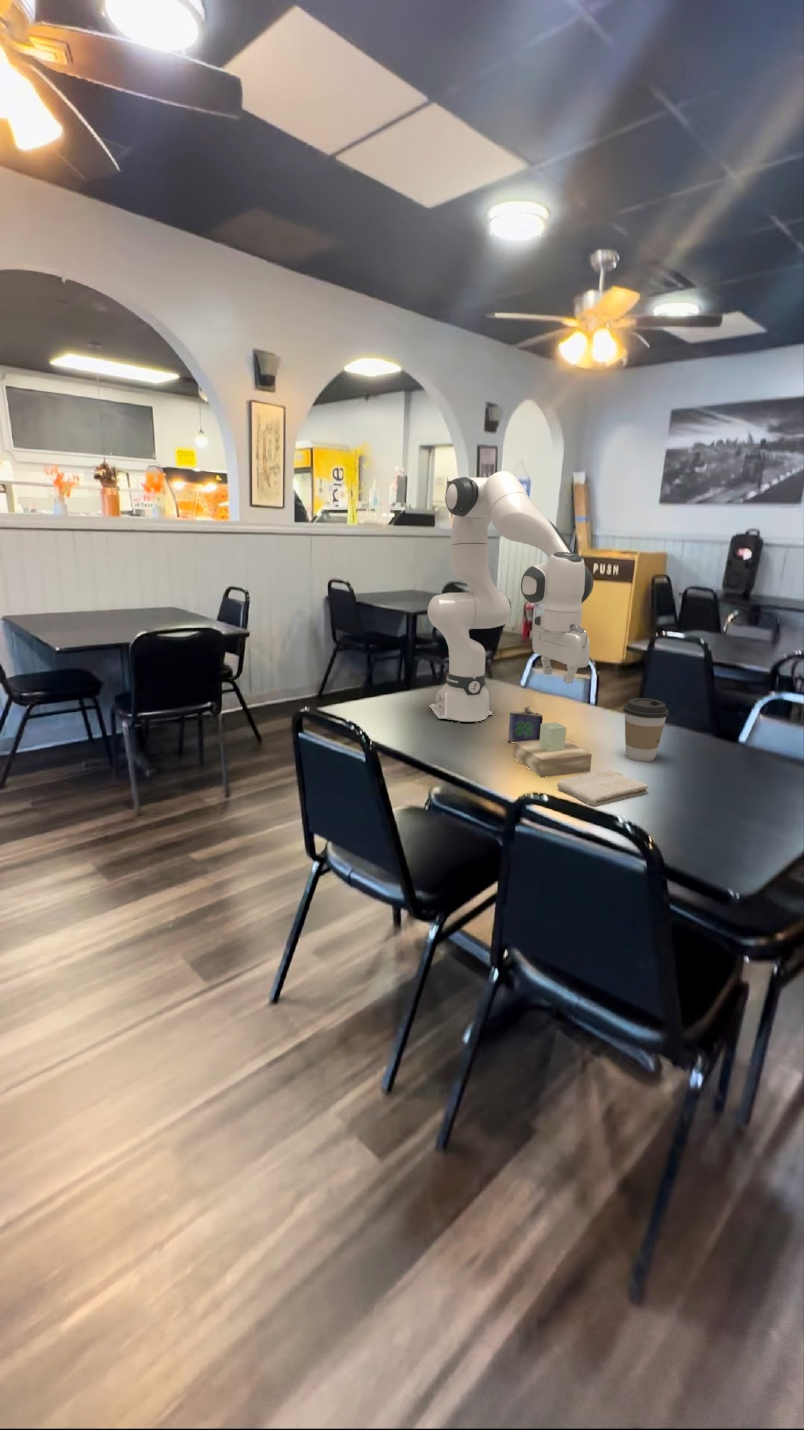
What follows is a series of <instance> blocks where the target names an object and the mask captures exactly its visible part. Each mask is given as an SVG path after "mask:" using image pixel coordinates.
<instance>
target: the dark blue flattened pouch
mask: <svg viewBox="0 0 804 1430" xmlns="http://www.w3.org/2000/svg"><path fill="white" fill-rule="evenodd" d="M543 719H544V718H543V714H541V713H538V712H537V711H536V712H534V711H532V710H531V709H530V706H529V705H528V706H525V707H523V711H517V710H513V711H512V710H511V711H510V712H509V727H508V739H507V742H508V741H509V742H508V743H510V742H520V741H530V740H540V728H541V724H543Z"/></svg>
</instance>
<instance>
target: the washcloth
mask: <svg viewBox="0 0 804 1430" xmlns="http://www.w3.org/2000/svg"><path fill="white" fill-rule="evenodd" d="M557 788H558V789H559V790H560V792H563V791H564V792H563V793H565V792H566V793H565V794H568V795H569V796H572V797H575V798H576V797H577V798H576V799H578V801H579V800H580V801H581V800H582V801H581V802H584V803H586V804H587V803H589V804H591V805H590V806H592V805H596V806H595V807H597V806H600V805H605V804H609V803H613V802H617V801H620V800H624V799H629V798H632V797H637V796H641V795H646V794H648V789H649V786H648V785H647V784H646V783H644V782H641V781H639V780H635V779H632V778H630V777H629V776H627V775H624V774H623V773H620V772H618V771H615V770H612V769H611V770H607V771H597V770H594V771H590V772H587V773H584V774H580V775H575V776H572V777H568V778H563V779H562V780H560V781H559V782H558V783H557ZM589 804H588V805H589Z"/></svg>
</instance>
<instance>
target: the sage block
mask: <svg viewBox="0 0 804 1430" xmlns="http://www.w3.org/2000/svg"><path fill="white" fill-rule="evenodd" d="M566 733H567V727H566V726H565V725H563V724H561V723H559V722H556V721H554V722H552V721H551V722H546V723H545V722H544V723H543V722H542V724H541V728H540V741H539V746H540V747H541V748H543V749H545V750H547V751H548V752H551V751H559V750H564V747H565V740H566V736H567V735H566Z"/></svg>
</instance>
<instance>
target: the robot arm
mask: <svg viewBox="0 0 804 1430" xmlns="http://www.w3.org/2000/svg"><path fill="white" fill-rule="evenodd" d="M445 491H446V492H445V505H446V508H447V509H448V511H449V513H450V514H451V515H453V518H452V526H451V530H450V531H451V533H450V570H451V572H452V574H453V575H454V577H456V578H457V579H459V580H461V581H464V582H465V584H466V585H467V587H468V592H467V591H466V592H445V593H442V594H437V595H434V596H433V597H432V598H431V599H430V601H429V602H428V603H429V604H428V606H427V617H428V620H429V622H430V624H432V625H431V626H433V627H434V628H436V630H438V631H439V632H440V633H441V634H442V637H444V639H445V641H446V642H445V643H446V644H447V647H448V661H449V662H448V670H449V671H448V672H446V677H445V678H446V679H445V684H444V685H443V686H442V687H441V688H440V689H439V690H438V691H437V694H435V695H434V702H435V703H431V704H429V707H431V709H432V710H433V711H434V713H435V714H436V715H437V717H439V718H451V719H454V720H459V721H481V720H484V719H486V718H487V717H488V715H492V716H493V711H491V710H490V698H489V697H490V696H489V690H488V689H487V688H486V687H485V686H486V685H487V684H486V682H487V674H486V672H485V671H486V654H487V653H486V650H485V648H484V646H483V644H481V643H480V642H479V641H476V640H474V639H472V638H470V633H469V631H470V630H474V629H475V630H476V629H477V630H478V629H479V630H481V629H493V628H498V627H501V626H504V625H506V623H507V622H508V621H509V619H510V617H511V612H512V609H511V604H510V601H509V599H508V597H507V596H506V595H505V594H504V593H502V592H501V591H500V589H498V588H497V586H496V585H495V583H494V582H493V579H492V576H491V574H490V566H489V565H490V564H489V538H488V537H489V536H488V534H489V533H488V530H489V524H490V522H492V524H493V525H494V528H495V529H496V531H497V532H498V533H499V534H500V535H501V537H503V538H505V539H506V540H509V541H512V542H517V543H521V544H526V545H529V546H532V547H535V548H537V549H538V550H540V551H541V552H543V553H544V554H545V555H546V557H547V558H548V559H547V560H546V561H544V562H541V563H539V564H536V565H533V566H532V565H531V566H529V567H528V568H527V569H526V570H525V571H524V573H523V575H522V576H521V577H522V578H521V582H520V592H521V595H522V596H523V598H524V599H525V600H526V601H527V602H528V603H530V604H534V605H545V606H544V612H543V613H541V614H538V615H535V616H534V617H533V619H532V624H533V629H532V644H531V645H532V646H531V647H532V650H533V653H534V654H536V655H538V656H539V655H540V656H541V664H542V666H543V668H542V669H543V670H542V673H543V674H544V675H547V676H551V675H553V667H552V664H551V660H552V661H556V662H558V663H561V664H563V665H566V670H567V672H566V674H564V675H563V683H565V684H566V683H567V684H572V683H574V678H575V675H576V674H577V671H578V669H579V668H587V667H588V665H589V663H590V654H591V653H590V651H591V650H590V648H591V646H590V644H591V643H590V638H589V636H588V635H589V634H588V633H587V631H586V628H584V627H583V626H582V617H583V605H582V603H584V602H586V601H587V599H588V598H589V597H590V595H591V594H592V591H593V588H594V577H593V575H592V572H591V571H590V569H589V568H588V566H587V565H586V564H585V561H584V557H582V556H581V555H580V554H577V553H574V551H573V550H572V548H571V547H570V545H569V544H568V542H567V541H566V540H565V537H563V535H562V534H561V532H560V531H559V530H558V528H557V527H556V526H555V525H554V524H553V523H552V521H550V520H549V519H548V518H547V517H545V516H544V515H543V514H542V513H541V512H540V511H539V509H537V508H536V507H535V505H534V504H533V502H532V501H531V499H530V497H529V495H528V493H527V491H526V489H525V487H524V486H523V485H522V483H521V482H520V480H519V479H518V478H517V477H516V475H515V474H514V473H512V472H510V471H506V470H501V471H497V472H495V473H492V475H490V476H483V477H479V476H477V477H467V476H462V477H456V478H454V479H452V480H451V482H450V483H449V484H448V485H447V488H446V490H445ZM436 704H437V705H436ZM431 709H430V710H431ZM440 715H441V716H440ZM488 718H489V717H488ZM488 718H487V719H488ZM487 719H486V720H487ZM484 721H485V720H484ZM481 722H482V721H481Z"/></svg>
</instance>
